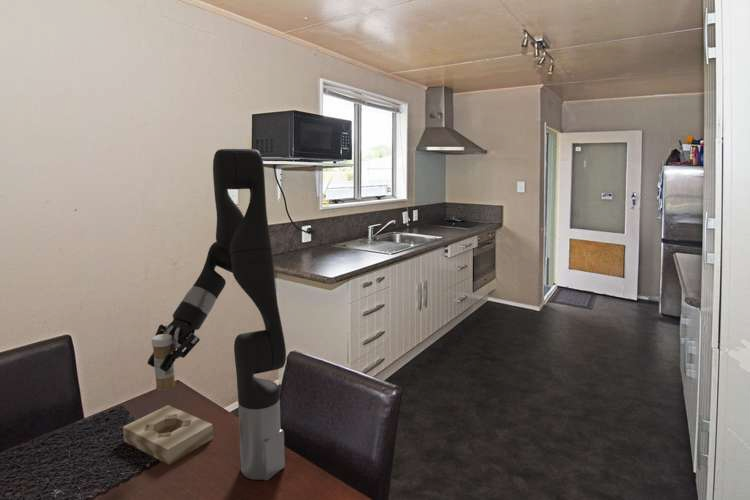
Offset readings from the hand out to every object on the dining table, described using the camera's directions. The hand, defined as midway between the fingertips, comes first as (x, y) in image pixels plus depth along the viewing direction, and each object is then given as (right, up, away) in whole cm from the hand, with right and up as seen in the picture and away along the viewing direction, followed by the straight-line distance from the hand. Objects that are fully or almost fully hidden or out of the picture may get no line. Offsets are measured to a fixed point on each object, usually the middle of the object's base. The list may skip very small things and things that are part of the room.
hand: (157, 367), depth 117 cm
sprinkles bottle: (+1, -6, +3) cm, 7 cm away
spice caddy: (+1, -20, +5) cm, 21 cm away
